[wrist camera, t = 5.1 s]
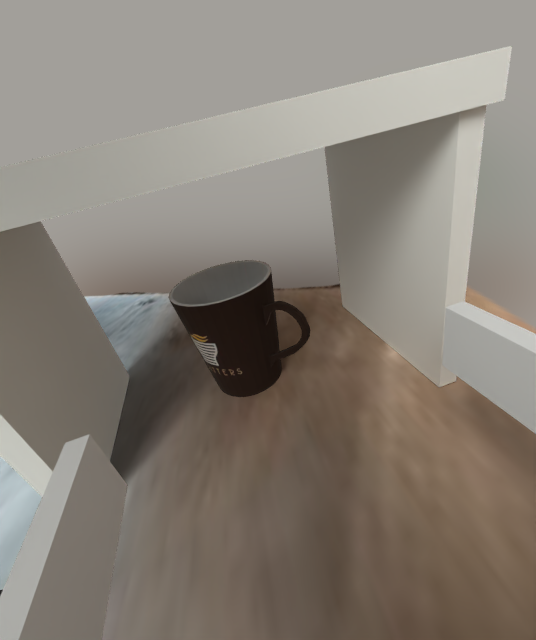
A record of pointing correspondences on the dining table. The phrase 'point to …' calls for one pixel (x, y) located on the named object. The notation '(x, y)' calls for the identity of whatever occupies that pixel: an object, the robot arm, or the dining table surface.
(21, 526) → the dining table surface
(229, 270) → the coffee mug
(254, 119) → the shelf stand
